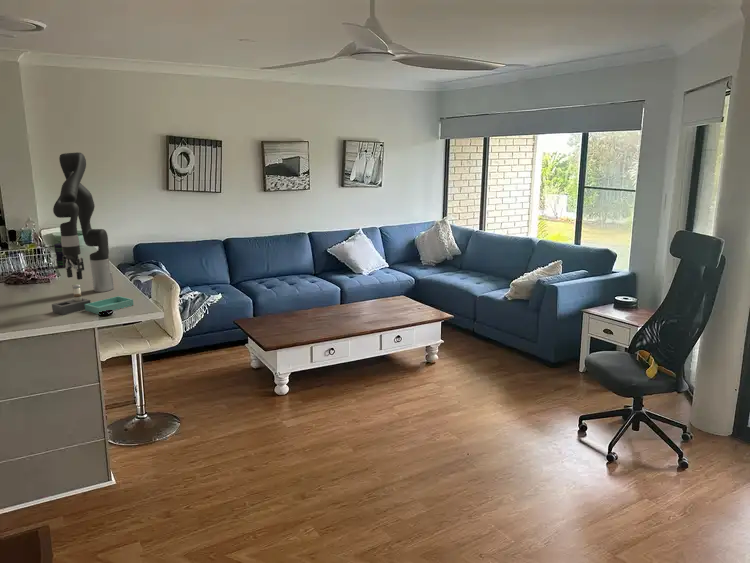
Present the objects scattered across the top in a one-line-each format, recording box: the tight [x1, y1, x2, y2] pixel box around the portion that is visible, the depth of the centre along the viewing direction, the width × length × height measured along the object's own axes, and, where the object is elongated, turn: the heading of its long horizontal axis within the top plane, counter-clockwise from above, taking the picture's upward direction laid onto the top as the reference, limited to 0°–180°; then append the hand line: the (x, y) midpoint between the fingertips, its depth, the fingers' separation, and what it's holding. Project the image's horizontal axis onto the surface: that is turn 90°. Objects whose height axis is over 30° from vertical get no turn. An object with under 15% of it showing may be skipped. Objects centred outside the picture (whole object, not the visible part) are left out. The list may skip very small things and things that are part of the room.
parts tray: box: [84, 295, 134, 315], centre depth 291 cm, size 18×12×3 cm, turn 146°
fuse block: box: [51, 297, 92, 316], centre depth 288 cm, size 14×9×4 cm, turn 146°
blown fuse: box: [72, 283, 83, 302], centre depth 290 cm, size 3×3×10 cm
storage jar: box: [53, 242, 73, 269], centre depth 387 cm, size 10×10×15 cm
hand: (74, 278), depth 288 cm, fingers open, 8 cm apart
